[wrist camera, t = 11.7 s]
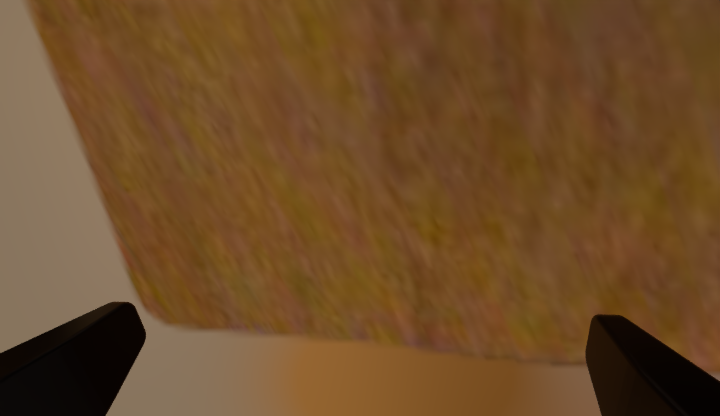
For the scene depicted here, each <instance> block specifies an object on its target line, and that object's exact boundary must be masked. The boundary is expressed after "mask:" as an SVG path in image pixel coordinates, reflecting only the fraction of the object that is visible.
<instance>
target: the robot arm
mask: <svg viewBox="0 0 720 416" xmlns="http://www.w3.org/2000/svg"><path fill="white" fill-rule="evenodd" d="M145 339H146V332H145V329H144V326H143V324H142V322H141V319H140V317H139V315H138V313H137V310H136V308H135V306H134V305H133V304H131V303H129V302H111V303H108V304H106V305H104V306H101V307H99V308H97V309H95V310H93V311H91V312H89V313H86V314H84V315H82V316H80V317H78V318H75V319H73V320H71V321H69V322H67V323H65V324H63V325H60V326H58V327H56V328H54V329H52V330H50V331H48V332H45V333H43V334H41V335H39V336H37V337H34V338H32V339H30V340H28V341H26V342H24V343H21V344H19V345H17V346H15V347H13V348H11V349H9V350H7V351H4V352H2V353H0V416H106V414H107V412H108V410H109V409H110V407H111V405H112V403H113V401H114V399H115V398H116V396H117V394H118V392H119V390H120V388H121V386H122V385H123V383H124V381H125V379H126V377H127V375H128V373H129V371H130V369H131V367H132V366H133V364H134V362H135V360H136V358H137V356H138V354H139V352H140V350H141V348H142V347H143V345H144V342H145ZM586 363H587V367H588V370H589V374H590V377H591V381H592V383H593V388H594V391H595V394H596V398H597V401H598V405H599V408H600V412H601V415H602V416H720V381H719V380H717V379H716V378H714V377H713V376H711V375H710V374H708V373H707V372H705V371H704V370H702V369H701V368H699V367H698V366H696V365H695V364H693V363H692V362H690V361H689V360H687V359H686V358H684V357H683V356H681V355H680V354H678V353H677V352H675V351H674V350H673V349H671V348H670V347H668V346H667V345H665V344H664V343H662V342H661V341H659V340H658V339H656V338H655V337H653V336H652V335H650V334H649V333H647V332H646V331H644V330H643V329H641V328H640V327H638V326H637V325H635V324H634V323H632V322H631V321H629V320H628V319H626V318H625V317H623V316H620V315H602V314H598V315H595V316H594V317H593V318H592V320H591V324H590V329H589V335H588V340H587V346H586Z"/></svg>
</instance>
